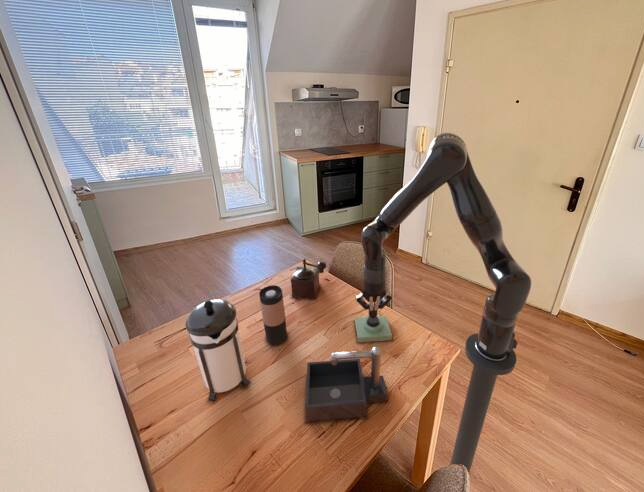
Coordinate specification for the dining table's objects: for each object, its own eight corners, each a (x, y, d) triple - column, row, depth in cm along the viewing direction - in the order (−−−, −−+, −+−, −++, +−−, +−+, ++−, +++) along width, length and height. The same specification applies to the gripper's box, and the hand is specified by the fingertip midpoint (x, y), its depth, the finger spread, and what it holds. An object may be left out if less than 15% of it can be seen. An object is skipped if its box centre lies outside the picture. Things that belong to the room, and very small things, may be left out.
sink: (380, 370, 92) (380, 356, 90) (389, 415, 80) (391, 400, 77) (308, 376, 91) (307, 362, 88) (306, 422, 78) (305, 407, 76)
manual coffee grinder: (291, 298, 125) (287, 262, 118) (298, 283, 135) (295, 249, 128) (326, 301, 123) (325, 265, 116) (331, 285, 133) (329, 251, 126)
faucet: (378, 380, 86) (380, 344, 80) (380, 388, 83) (382, 351, 78) (331, 383, 85) (330, 347, 79) (331, 391, 83) (330, 354, 77)
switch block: (385, 320, 113) (386, 311, 111) (391, 340, 104) (392, 331, 102) (355, 322, 112) (355, 313, 110) (358, 342, 103) (358, 333, 101)
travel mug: (264, 332, 108) (257, 288, 100) (285, 327, 110) (280, 283, 102) (267, 348, 101) (260, 301, 93) (289, 341, 104) (284, 296, 95)
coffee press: (263, 364, 95) (250, 288, 83) (230, 410, 81) (209, 327, 69) (220, 350, 101) (202, 277, 88) (182, 390, 87) (155, 311, 75)
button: (377, 318, 108) (377, 315, 108) (379, 326, 105) (379, 323, 104) (366, 319, 108) (366, 315, 107) (368, 327, 105) (368, 323, 104)
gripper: (356, 284, 94) (355, 325, 101) (396, 282, 95) (393, 323, 102) (353, 271, 101) (353, 310, 108) (391, 269, 102) (388, 308, 109)
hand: (372, 316), depth 105 cm, fingers closed
